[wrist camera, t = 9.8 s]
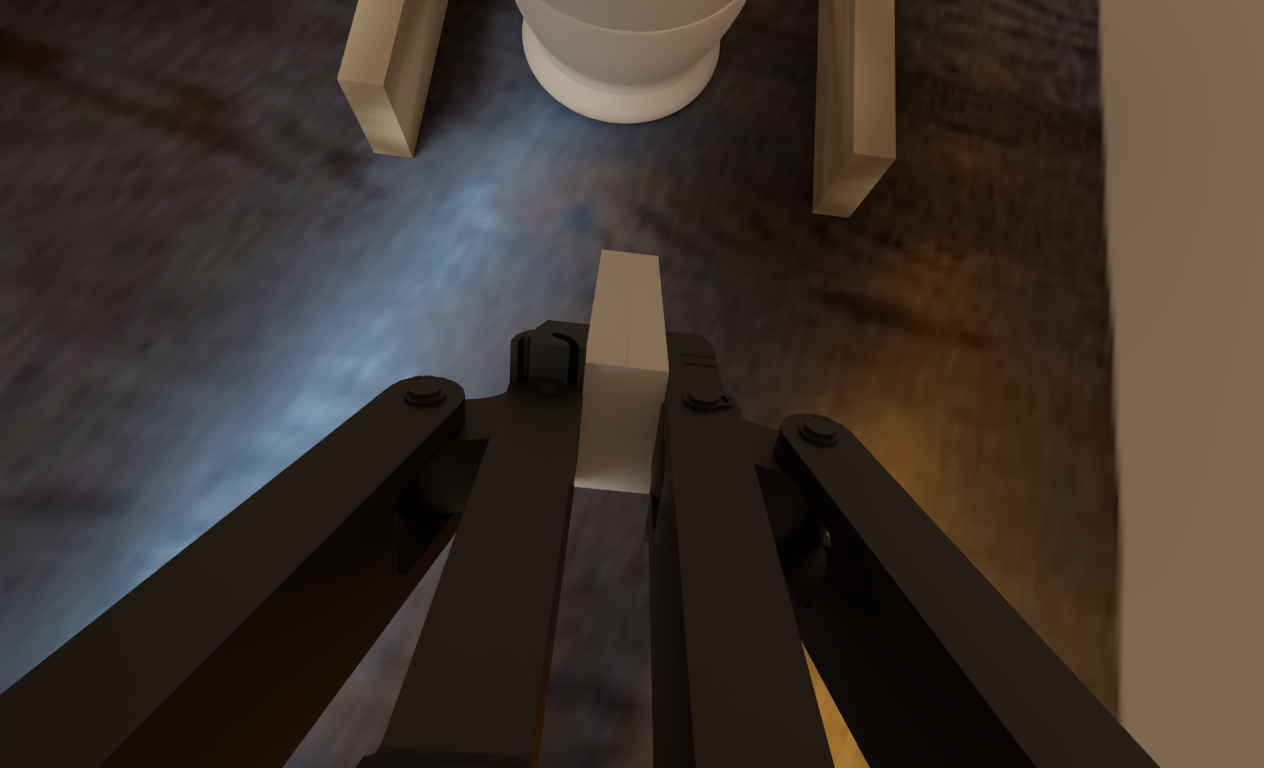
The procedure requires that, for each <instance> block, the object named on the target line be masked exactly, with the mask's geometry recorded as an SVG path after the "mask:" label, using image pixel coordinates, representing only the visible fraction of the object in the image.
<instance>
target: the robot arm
mask: <svg viewBox="0 0 1264 768" xmlns="http://www.w3.org/2000/svg"><path fill="white" fill-rule="evenodd" d="M651 478H652V491H651V497H650V503H649V509H648V515H647V521H646V527H645V533H644V539H643V541H649V573H650V623H651V673H652V723H653V768H835V767H834V763H833V759H832V755H831V752H830V748H829V744H828V740H827V737H826V733H825V729H824V725H823V722H822V718H821V714H820V710H819V707H818V703H817V699H816V695H815V692H814V688H813V684H812V680H811V677H810V673H809V669H808V665H807V661H806V658H805V654H804V650H803V646H802V643H803V645H804V647H805V648H806V650H807V652H808V654H809V656H810V658H811V660H812V661H813V663H814V665H815V667H816V669H817V671H818V673H819V674H820V676H821V678H822V680H823V682H824V684H825V685H826V687H827V689H828V691H829V693H830V695H831V697H832V698H833V700H834V702H835V704H836V706H837V708H838V710H839V711H840V713H841V715H842V717H843V719H844V721H845V722H846V724H847V726H848V728H849V730H850V732H851V734H852V735H853V737H854V739H855V741H856V743H857V745H858V747H859V748H860V750H861V752H862V754H863V756H864V758H865V760H866V761H867V763H868V765H869V767H870V768H1160V767H1159V766H1158V765H1157V764H1156V763H1155V761H1154V760H1153V759H1152V758H1151V757H1150V756H1149V755H1148V754H1147V753H1146V752H1145V751H1144V749H1143V748H1142V747H1141V746H1140V745H1139V744H1138V743H1137V742H1136V741H1135V740H1134V739H1133V738H1132V737H1131V735H1130V734H1129V733H1128V732H1127V731H1126V730H1125V729H1124V728H1123V727H1122V726H1121V724H1120V723H1119V722H1118V721H1117V720H1116V719H1115V718H1114V717H1113V716H1112V715H1111V714H1110V713H1109V711H1108V710H1107V709H1106V708H1105V707H1104V706H1103V705H1102V704H1101V703H1100V702H1099V701H1098V700H1097V698H1096V697H1095V696H1094V695H1093V694H1092V693H1091V692H1090V691H1089V690H1088V689H1087V688H1086V686H1085V685H1084V684H1083V683H1082V682H1081V681H1080V680H1079V679H1078V678H1077V677H1076V676H1075V675H1074V673H1073V672H1072V671H1071V670H1070V669H1069V668H1068V667H1067V666H1066V665H1065V664H1064V663H1063V662H1062V660H1061V659H1060V658H1059V657H1058V656H1057V655H1056V654H1055V653H1054V652H1053V651H1052V650H1051V649H1050V647H1049V646H1048V645H1047V644H1046V643H1045V642H1044V641H1043V640H1042V639H1041V638H1040V637H1039V635H1038V634H1037V633H1036V632H1035V631H1034V630H1033V629H1032V628H1031V627H1030V626H1029V625H1028V624H1027V622H1026V621H1025V620H1024V619H1023V618H1022V617H1021V616H1020V615H1019V614H1018V613H1017V612H1016V611H1015V609H1014V608H1013V607H1012V606H1011V605H1010V604H1009V603H1008V602H1007V601H1006V600H1005V599H1004V598H1003V596H1002V595H1001V594H1000V593H999V592H998V591H997V590H996V589H995V588H994V587H993V586H992V584H991V583H990V582H989V581H988V580H987V579H986V578H985V577H984V576H983V575H982V574H981V573H980V571H979V570H978V569H977V568H976V567H975V566H974V565H973V564H972V563H971V562H970V561H969V560H968V558H967V557H966V556H965V555H964V554H963V553H962V552H961V551H960V550H959V549H958V548H957V546H956V545H955V544H954V543H953V542H952V541H951V540H950V539H949V538H948V537H947V536H946V535H945V533H944V532H943V531H942V530H941V529H940V528H939V527H938V526H937V525H936V524H935V523H934V522H933V520H932V519H931V518H930V517H929V516H928V515H927V514H926V513H925V512H924V511H923V510H922V509H921V507H920V506H919V505H918V504H917V503H916V502H915V501H914V500H913V499H912V498H911V497H910V495H909V494H908V493H907V492H906V491H905V490H904V489H903V488H902V487H901V486H900V485H899V484H898V482H897V481H896V480H895V479H894V478H893V477H892V476H891V475H890V474H889V473H888V472H887V471H886V469H885V468H884V467H883V466H882V465H881V464H880V463H879V462H878V461H877V460H876V459H875V458H874V456H873V455H872V454H871V453H870V452H869V451H868V450H867V449H866V448H865V447H864V446H863V444H862V443H861V442H860V441H859V440H858V439H857V438H856V437H855V436H854V435H853V434H852V433H851V432H850V431H849V430H848V429H846V428H845V427H844V426H843V425H841V424H839V423H837V422H835V421H833V420H831V419H830V418H828V417H824V416H822V417H821V415H816V414H795V415H790V416H788V417H787V418H785V419H783V420H782V424H781V427H780V430H779V431H777V430H774V429H770V428H767V427H763V426H760V425H757V424H754V423H751V422H749V421H747V420H745V419H743V418H742V417H741V413H740V410H739V406H738V404H737V403H736V401H735V399H734V398H733V397H731V396H730V395H729V394H727V393H726V392H724V391H723V387H722V383H721V379H720V375H719V370H718V368H717V362H716V359H715V354H714V350H713V346H712V345H711V344H710V343H709V342H708V341H707V340H706V339H705V338H704V337H702V336H701V335H692V334H683V333H674V332H666V331H665V323H664V313H663V302H662V292H661V281H660V271H659V260H658V256H653V255H644V254H636V253H627V252H619V251H610V250H602V252H601V258H600V265H599V271H598V277H597V284H596V290H595V296H594V303H593V309H592V315H591V322H590V325H588V324H579V323H570V322H561V321H552V320H548V321H546V322H545V323H543V324H542V325H540V326H539V327H537V328H536V329H535V330H528V331H524V332H522V333H520V334H517V335H516V336H515V337H514V338H513V339H512V340H511V358H510V383H509V386H508V388H507V391H506V392H505V393H503V394H501V395H497V396H493V397H488V398H481V399H467V400H465V394H464V390H463V388H462V387H461V386H460V385H458V384H457V383H456V382H454V381H451V380H448V379H446V378H441V377H434V376H415V377H412V378H408V379H404V380H401V381H399V382H397V383H395V384H393V385H391V386H389V387H388V388H387V389H386V390H384V391H383V392H382V393H381V394H379V395H378V396H377V397H376V398H374V399H373V400H372V401H371V402H369V403H368V404H367V405H365V406H364V407H363V408H362V409H360V410H359V411H358V412H357V413H355V414H354V415H353V416H352V417H350V418H349V419H348V420H347V421H345V422H344V423H343V424H341V425H340V426H339V427H338V428H336V429H335V430H334V431H333V432H331V433H330V434H329V435H328V436H326V437H325V438H324V439H323V440H321V441H320V442H319V443H317V444H316V445H315V446H314V447H312V448H311V449H310V450H309V451H307V452H306V453H305V454H304V455H302V456H301V457H300V458H299V459H297V460H296V461H295V462H294V463H292V464H291V465H290V466H288V467H287V468H286V469H285V470H283V471H282V472H281V473H280V474H278V475H277V476H276V477H275V478H273V479H272V480H271V481H270V482H268V483H267V484H266V485H264V486H263V487H262V488H261V489H259V490H258V491H257V492H256V493H254V494H253V495H252V496H251V497H249V498H248V499H247V500H246V501H244V502H243V503H242V504H240V505H239V506H238V507H237V508H235V509H234V510H233V511H232V512H230V513H229V514H228V515H227V516H225V517H224V518H223V519H222V520H220V521H219V522H218V523H216V524H215V525H214V526H213V527H211V528H210V529H209V530H208V531H206V532H205V533H204V534H203V535H201V536H200V537H199V538H198V539H196V540H195V541H194V542H193V543H191V544H190V545H189V546H187V547H186V548H185V549H184V550H182V551H181V552H180V553H179V554H177V555H176V556H175V557H174V558H172V559H171V560H170V561H169V562H167V563H166V564H165V565H163V566H162V567H161V568H160V569H158V570H157V571H156V572H155V573H153V574H152V575H151V576H150V577H148V578H147V579H146V580H145V581H143V582H142V583H141V584H139V585H138V586H137V587H136V588H134V589H133V590H132V591H131V592H129V593H128V594H127V595H126V596H124V597H123V598H122V599H121V600H119V601H118V602H117V603H116V604H114V605H113V606H112V607H110V608H109V609H108V610H107V611H105V612H104V613H103V614H102V615H100V616H99V617H98V618H97V619H95V620H94V621H93V622H92V623H90V624H89V625H88V626H86V627H85V628H84V629H83V630H81V631H80V632H79V633H78V634H76V635H75V636H74V637H73V638H71V639H70V640H69V641H68V642H66V643H65V644H64V645H62V646H61V647H60V648H59V649H57V650H56V651H55V652H54V653H52V654H51V655H50V656H49V657H47V658H46V659H45V660H44V661H42V662H41V663H40V664H38V665H37V666H36V667H35V668H33V669H32V670H31V671H30V672H28V673H27V674H26V675H25V676H23V677H22V678H21V679H20V680H18V681H17V682H16V683H15V684H13V685H12V686H11V687H9V688H8V689H7V690H6V691H4V692H3V693H2V694H1V695H0V768H282V767H283V766H284V765H285V763H286V762H287V761H288V759H289V758H290V756H291V755H292V754H293V752H294V751H295V750H296V748H297V747H298V746H299V744H300V743H301V742H302V740H303V739H304V738H305V736H306V735H307V733H308V732H309V731H310V729H311V728H312V727H313V725H314V724H315V723H316V721H317V720H318V719H319V717H320V716H321V715H322V713H323V712H324V710H325V709H326V708H327V706H328V705H329V704H330V702H331V701H332V700H333V698H334V697H335V696H336V694H337V693H338V692H339V690H340V689H341V687H342V686H343V685H344V683H345V682H346V681H347V679H348V678H349V677H350V675H351V674H352V673H353V671H354V670H355V668H356V667H357V666H358V664H359V663H360V662H361V660H362V659H363V658H364V656H365V655H366V654H367V652H368V651H369V650H370V648H371V647H372V645H373V644H374V643H375V641H376V640H377V639H378V637H379V636H380V635H381V633H382V632H383V631H384V629H385V628H386V627H387V625H388V624H389V622H390V621H391V620H392V618H393V617H394V616H395V614H396V613H397V612H398V610H399V609H400V608H401V606H402V605H403V604H404V602H405V601H406V599H407V598H408V597H409V595H410V594H411V593H412V591H413V590H414V589H415V587H416V586H417V585H418V583H419V582H420V581H421V579H422V578H423V576H424V575H425V574H426V572H427V571H428V570H429V568H430V567H431V566H432V564H433V563H434V562H435V560H436V559H437V557H438V556H439V555H440V553H441V552H442V551H443V549H444V548H445V547H446V545H447V544H448V543H449V541H450V540H451V539H452V537H453V536H454V534H455V533H456V535H455V538H454V541H453V544H452V547H451V549H450V552H449V555H448V558H447V561H446V563H445V566H444V569H443V572H442V575H441V578H440V580H439V583H438V586H437V589H436V592H435V595H434V597H433V600H432V603H431V606H430V609H429V611H428V614H427V617H426V620H425V623H424V626H423V628H422V631H421V634H420V637H419V640H418V643H417V645H416V648H415V651H414V654H413V657H412V659H411V662H410V665H409V668H408V671H407V674H406V676H405V679H404V682H403V685H402V688H401V691H400V693H399V696H398V699H397V702H396V705H395V707H394V710H393V713H392V716H391V719H390V722H389V724H388V727H387V730H386V733H385V735H384V738H383V740H382V742H381V745H380V747H379V748H378V750H377V751H376V753H375V754H372V755H368V756H364V757H363V758H362V759H361V761H360V762H359V764H358V765H357V766H356V768H538V761H539V753H540V745H541V738H542V730H543V723H544V715H545V707H546V700H547V692H548V685H549V677H550V669H551V662H552V654H553V646H554V639H555V631H556V624H557V616H558V608H559V601H560V593H561V586H562V578H563V570H564V563H565V555H566V548H567V540H568V532H569V525H570V517H571V509H572V501H573V491H574V487H583V488H593V489H604V490H614V491H624V492H634V493H644V494H649V490H650V484H651ZM827 531H828V533H829V536H830V539H829V537H828V536H827V534H826V533H827ZM801 641H802V643H801Z"/></svg>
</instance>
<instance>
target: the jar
mask: <svg viewBox="0 0 1264 768" xmlns="http://www.w3.org/2000/svg"><path fill="white" fill-rule="evenodd" d="M515 2H516V4H517V6H518V8H519V10H520V12H521V14H522V15H523V17H524V18H523V25H522V40H523V47H524V52H525V55H526V58H527V61H528V64H529V66H530V68H531V70H532V72H533V74H534V75H535V77H536V78H537V80H538V81H539V83H540V84H541V85H542V86H543V87H544V89H545V90H546V91H547V92H548V93H549V94H550V95H552V96H553V97H554V98H555V99H556V100H557V101H559V102H560V103H562V104H563V105H565V106H566V107H568V108H569V109H571V110H573V111H575V112H577V113H579V114H582V115H584V116H586V117H589V118H592V119H596V120H600V121H604V122H610V123H621V124H633V123H643V122H649V121H653V120H657V119H660V118H663V117H666V116H668V115H670V114H673V113H674V112H676V111H678V110H680V109H682V108H683V107H685V106H686V105H688V104H689V103H690V102H691V101H693V100H694V99H695V98H696V97H697V96H698V95H699V94H700V93H701V92H702V90H703V89H704V88H705V87H706V85H707V84H708V82H709V80H710V79H711V77H712V75H713V73H714V70H715V68H716V65H717V61H718V57H719V51H720V39H721V38H722V37H723V35H724V34H725V33H726V32H727V30H728V29H729V28H730V26H731V25H732V23H733V22H734V20H735V19H736V17H737V16H738V14H739V12H740V11H741V9H742V7H743V5H744V4H745V2H746V0H515Z"/></svg>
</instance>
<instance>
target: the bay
mask: <svg viewBox="0 0 1264 768" xmlns="http://www.w3.org/2000/svg"><path fill="white" fill-rule="evenodd" d="M447 5H448V0H359V1H358V5H357V8H356V12H355V16H354V19H353V23H352V27H351V30H350V34H349V38H348V41H347V45H346V49H345V52H344V56H343V60H342V63H341V67H340V71H339V74H338V78H337V80H338V82H339V84H340V86H341V88H342V90H343V92H344V94H345V96H346V98H347V100H348V102H349V104H350V106H351V108H352V110H353V112H354V114H355V116H356V118H357V120H358V122H359V124H360V126H361V128H362V130H363V132H364V134H365V136H366V138H367V140H368V142H369V144H370V146H371V148H372V150H373V151H374V153H379V154H386V155H394V156H401V157H408V158H413V156H414V151H415V147H416V143H417V138H418V134H419V129H420V125H421V120H422V116H423V111H424V107H425V103H426V98H427V94H428V89H429V85H430V80H431V76H432V71H433V67H434V63H435V58H436V54H437V49H438V45H439V40H440V36H441V31H442V27H443V23H444V18H445V14H446V9H447ZM895 159H896V126H895V17H894V0H819V16H818V49H817V82H816V115H815V148H814V181H813V213H815V214H822V215H830V216H837V217H844V218H849V217H850V216H851V215H852V213H853V212H854V211H855V210H856V208H857V207H858V206H859V205H860V203H861V202H862V201H863V200H864V198H865V197H866V196H867V195H868V193H869V192H870V191H871V189H872V188H873V187H874V186H875V184H876V183H877V182H878V181H879V179H880V178H881V177H882V176H883V174H884V173H885V172H886V171H887V169H888V168H889V167H890V166H891V164H892V163H893V162H894V161H895Z"/></svg>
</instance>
